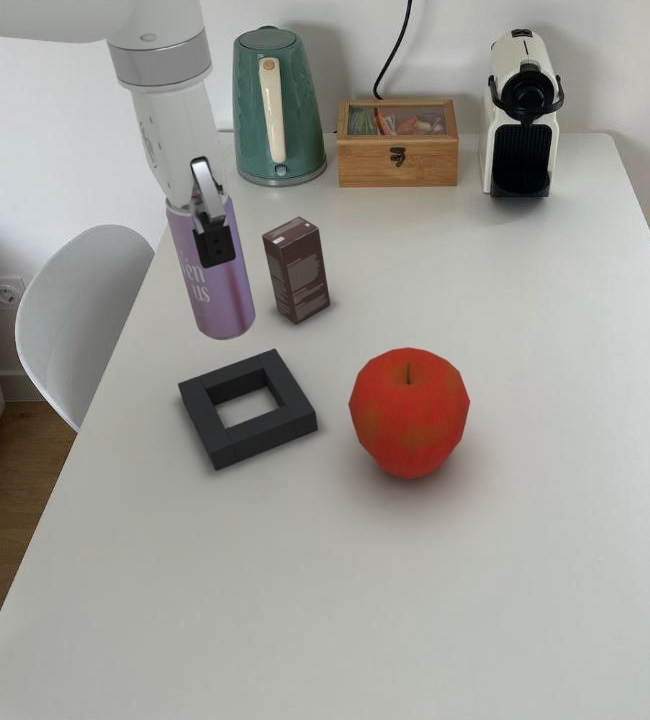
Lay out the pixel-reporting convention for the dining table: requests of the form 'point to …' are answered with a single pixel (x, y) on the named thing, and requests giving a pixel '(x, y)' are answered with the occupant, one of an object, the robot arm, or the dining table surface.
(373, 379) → the apple
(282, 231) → the box
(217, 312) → the beverage can
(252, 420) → the socket pad
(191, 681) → the dining table surface
